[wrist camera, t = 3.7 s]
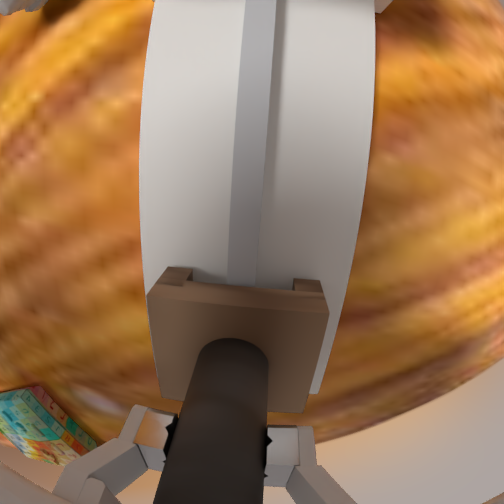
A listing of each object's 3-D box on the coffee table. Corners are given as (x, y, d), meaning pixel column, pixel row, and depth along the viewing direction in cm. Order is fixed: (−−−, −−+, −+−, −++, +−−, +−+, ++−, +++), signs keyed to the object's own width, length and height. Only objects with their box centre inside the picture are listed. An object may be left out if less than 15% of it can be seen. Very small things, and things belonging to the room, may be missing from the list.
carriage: (175, 362, 16) (118, 515, 7) (168, 266, 14) (49, 437, 4) (299, 375, 16) (308, 542, 6) (319, 280, 13) (372, 486, 4)
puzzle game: (96, 476, 21) (25, 460, 25) (109, 446, 26) (36, 441, 30) (15, 402, 18) (-28, 405, 22) (38, 373, 22) (-13, 387, 26)
